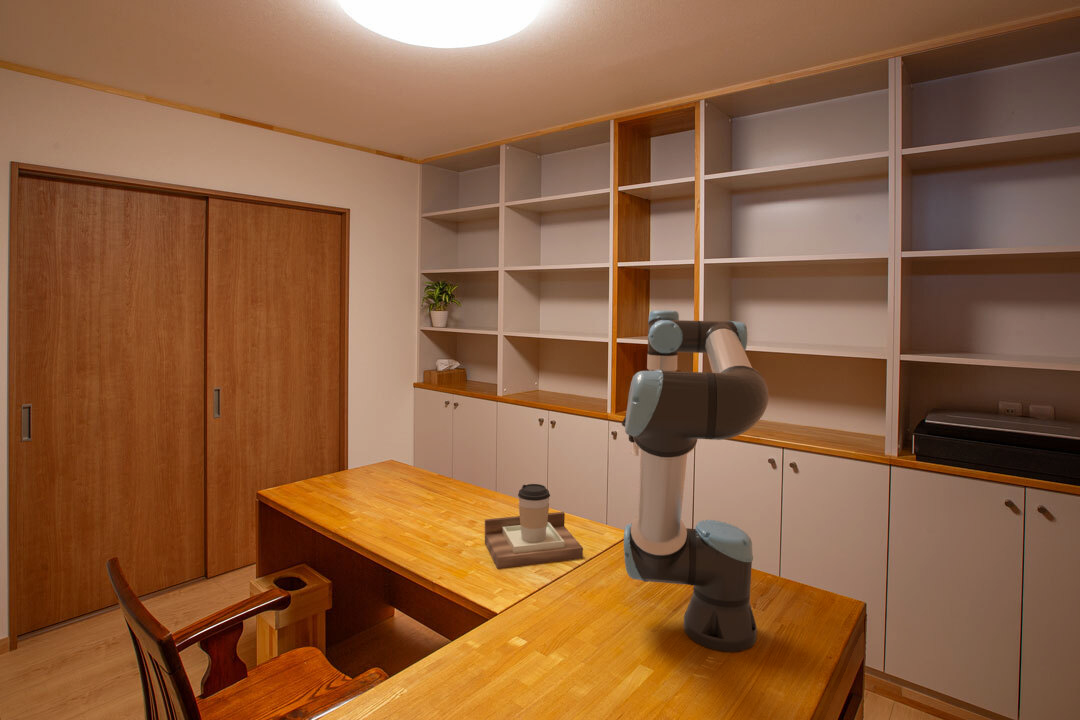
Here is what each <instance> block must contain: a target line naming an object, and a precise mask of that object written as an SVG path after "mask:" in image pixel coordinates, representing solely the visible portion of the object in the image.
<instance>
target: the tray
mask: <svg viewBox="0 0 1080 720" xmlns="http://www.w3.org/2000/svg"><path fill="white" fill-rule="evenodd" d="M502 533H503V535H504V537H505V538H506V540H507V542H508V544H509V545H510V547H511V549H512V551H513V552H514V553H521V552H530V551H539V550H548V549H556V548H564V540H563V539H562V538H561V536H560V535H559V534H558V533H557V531H556V530H555V529H554V528H553V526H552V525H551V524H550V523H549V522H547V526H546V537H545V540H544V541H542V542H538V543H529V542H525V541H523V540H522V536H521V525H516V526H506V527H502Z"/></svg>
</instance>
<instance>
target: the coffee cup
mask: <svg viewBox="0 0 1080 720" xmlns="http://www.w3.org/2000/svg"><path fill="white" fill-rule="evenodd" d="M521 486H522V487H521V489H519V491H518V494H517V497H518V514H519V516H520V525H521V536H522V540H523V541H525V542H529V543H538V542H542V541H544V540H545V537H546V526H547V521H548V513H549V509H550V496H551V494H550V490H549V489H547V487H546V486H545V485H543V484H540V483H528V484H523V485H521Z"/></svg>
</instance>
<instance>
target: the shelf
mask: <svg viewBox="0 0 1080 720" xmlns="http://www.w3.org/2000/svg"><path fill="white" fill-rule="evenodd" d="M565 519H566V518H565V512H564V511H560V512H559V511H557V512H548V521H547V522H549V523H550V524H551V525H552V526H553V528H554V529H555V530H556V531H557V533H558V534H559V535H560V536H561V538H562V539H563V540H564V548H556V549H548V550H539V551H530V552H521V553H514V552H513V551H512V549H511V547H510V545H509V544H508V542H507V540H506V538H505V537H504V535H503V533H502V527H506V526H516V525H520V515H517V516H506V517H497V518H496V517H495V518H487V519H484V544H485V546H486V548H487V550H488V552H489V555H490V556H491V558H492V560H493V562H494V564H495V567H496V568H497V569H504V568H505V569H506V568H512V567H520V566H529V565H530V566H531V565H537V564H545V563H554V562H560V561H561V562H562V561H564V562H565V561H568V560H569V561H571V560H578V559H579V560H580V559H583V557H584V548H583V546H582V544H581V543H580V542H579V541H578V540H577V539H576V538H575V537H574V536H573V534H572V533H571V531H569V530H568V529H567V527H566V525H565V522H566V521H565Z"/></svg>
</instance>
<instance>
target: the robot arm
mask: <svg viewBox="0 0 1080 720" xmlns="http://www.w3.org/2000/svg"><path fill="white" fill-rule="evenodd" d="M647 321H648V322H647V326H648V327H647V328H648V331H647V357H646V359H647V363H646V370H640V371H638V372H636V373H634V375H633V376H632V380H631V381H630V387H629V392H628V397H627V398H628V400H627V407H626V412H625V413H626V414H625V416H624V418H623V420H622V422H621V425H622V427H624V431H625V434H626V435H628V441H629V442H630V443H631V447H630V448H631V449H630V450H631V453H630V454H632V455H634V456H636V457H639V454H640V461H639V462H640V463H639V493H638V494H639V495H638V515H637V516H636V517H634V519H633V521H632V522H631V523H628V524H626V525H625V527H624V532H623V553H624V554H623V555H624V565H625V571H626V574H627V576H628V577H629V578H631V579H632V580H637V581H642V582H645V583H646V582H647V583H648V582H650V583H660V584H661V583H664V584H672V585H673V584H675V585H685V586H686V585H687V586H693V592H692V596H691V598H690V600H689V603H688V605H687V607H686V610H685V612H684V615H683V630H684V632H685V634H686V635H687V636H688V637H689V638H690V639H691V640H692V641H694V642H696V644H699V645H701V646H703V647H706V648H708V649H711V650H714V651H721V652H732V653H733V652H742V651H745V650H748V649H750V648H752V647H753V646H754V645H755V644H756V642H757V638H758V637H757V636H758V635H757V633H758V631H757V630H758V628H757V624H756V619H755V616H754V612H753V610H752V605H751V602H750V601H751V599H750V598H751V585H752V583H751V582H752V569H753V568H752V564H753V563H752V562H753V560H754V555H753V542H752V539H751V537H750V535H748V533H747V532H745V530H743V529H741V528H739V527H738V526H735V525H733V524H731V523H727V522H725V521H720V520H712V519H706V520H699V521H698V522H697V523H696V525H695V526H694V528H688V527H686V525H685V523H684V522H683V521H682V510H683V509H682V508H683V501H684V490H685V481H686V479H685V478H686V469H687V459H688V454H690V453H691V452H692V451H693V450H694V449H695V448H696V445H697V443H698V440H709V441H710V440H712V441H713V440H715V441H721V440H728V439H732V438H735V437H738V436H740V435H743V434H744V433H745V432H747V431H750V429H752V428H753V427H754V426H755V425H756V424H757V423H759V421H760V420H761V419H762V417H763V415H764V414H765V412H766V410H767V407H768V404H769V396H770V395H769V389H768V386H767V384H766V383H767V382H766V381H765V379H764V377H763V376H762V374H761V373H760V372H759V371H758V370H756V369H755V368H753V366H752V364H751V362H750V360H749V358H748V356H747V353H746V350H747V345H748V329H747V325H746V323H744V322H742V321H732V320H684V319H682V320H681V319H680V315H679V311H677V310H661V309H659V310H651V311H649V314H648V320H647ZM679 353H691V354H692V353H694V354H696V353H697V354H699V353H700V354H707V358H708V362H709V366H710V370H711V372H705V371H704V372H703V371H699V372H698V371H677V370H678V354H679Z"/></svg>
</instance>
